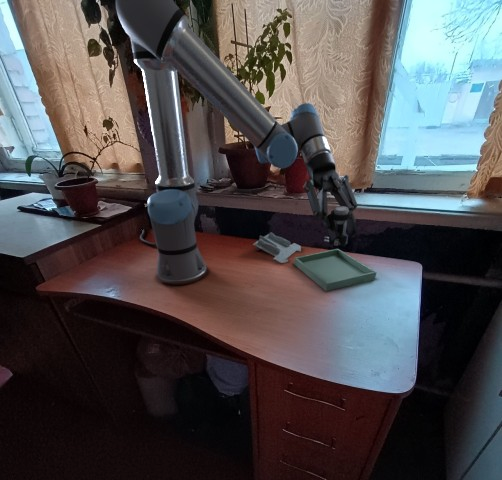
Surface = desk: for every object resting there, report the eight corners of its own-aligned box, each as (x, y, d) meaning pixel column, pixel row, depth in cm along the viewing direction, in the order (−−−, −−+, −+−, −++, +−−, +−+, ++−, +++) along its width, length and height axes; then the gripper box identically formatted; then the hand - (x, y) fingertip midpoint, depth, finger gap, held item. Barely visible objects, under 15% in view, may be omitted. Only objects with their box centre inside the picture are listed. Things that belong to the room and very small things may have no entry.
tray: (294, 264, 100) (294, 257, 99) (337, 255, 104) (338, 248, 103) (326, 291, 86) (327, 283, 84) (374, 279, 90) (376, 272, 88)
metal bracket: (248, 240, 102) (271, 226, 112) (245, 255, 106) (267, 240, 116) (285, 259, 99) (305, 243, 108) (280, 274, 103) (300, 257, 112)
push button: (321, 245, 89) (323, 210, 83) (327, 238, 93) (330, 203, 86) (343, 249, 86) (348, 212, 80) (349, 241, 90) (354, 206, 83)
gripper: (339, 165, 93) (365, 237, 91) (284, 173, 88) (309, 248, 86) (353, 147, 86) (381, 224, 84) (293, 154, 81) (321, 236, 79)
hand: (344, 236), depth 85 cm, fingers closed on push button, 5 cm apart
